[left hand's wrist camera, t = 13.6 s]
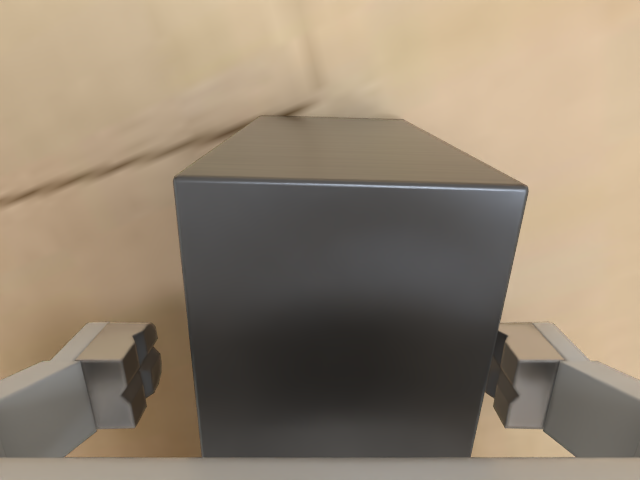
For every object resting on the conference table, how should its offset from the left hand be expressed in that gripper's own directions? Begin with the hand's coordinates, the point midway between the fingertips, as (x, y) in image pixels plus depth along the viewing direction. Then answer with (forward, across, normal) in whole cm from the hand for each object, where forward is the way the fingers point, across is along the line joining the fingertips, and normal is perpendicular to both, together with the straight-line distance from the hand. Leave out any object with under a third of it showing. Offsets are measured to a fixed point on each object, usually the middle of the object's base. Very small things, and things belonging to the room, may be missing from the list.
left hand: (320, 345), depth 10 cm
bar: (+7, 0, -9) cm, 11 cm away
